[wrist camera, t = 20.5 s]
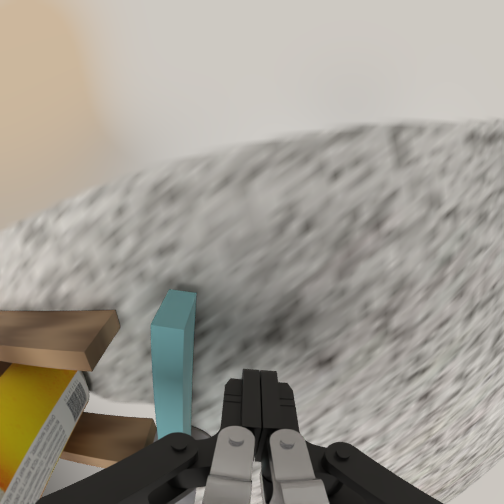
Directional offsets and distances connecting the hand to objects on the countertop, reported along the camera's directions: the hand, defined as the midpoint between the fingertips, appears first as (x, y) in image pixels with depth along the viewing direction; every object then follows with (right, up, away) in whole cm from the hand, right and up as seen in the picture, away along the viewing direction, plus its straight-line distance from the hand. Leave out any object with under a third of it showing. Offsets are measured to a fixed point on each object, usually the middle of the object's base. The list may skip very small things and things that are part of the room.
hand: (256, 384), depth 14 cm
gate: (-5, -3, +5) cm, 8 cm away
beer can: (-15, -3, +6) cm, 16 cm away
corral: (-12, -5, +6) cm, 14 cm away
